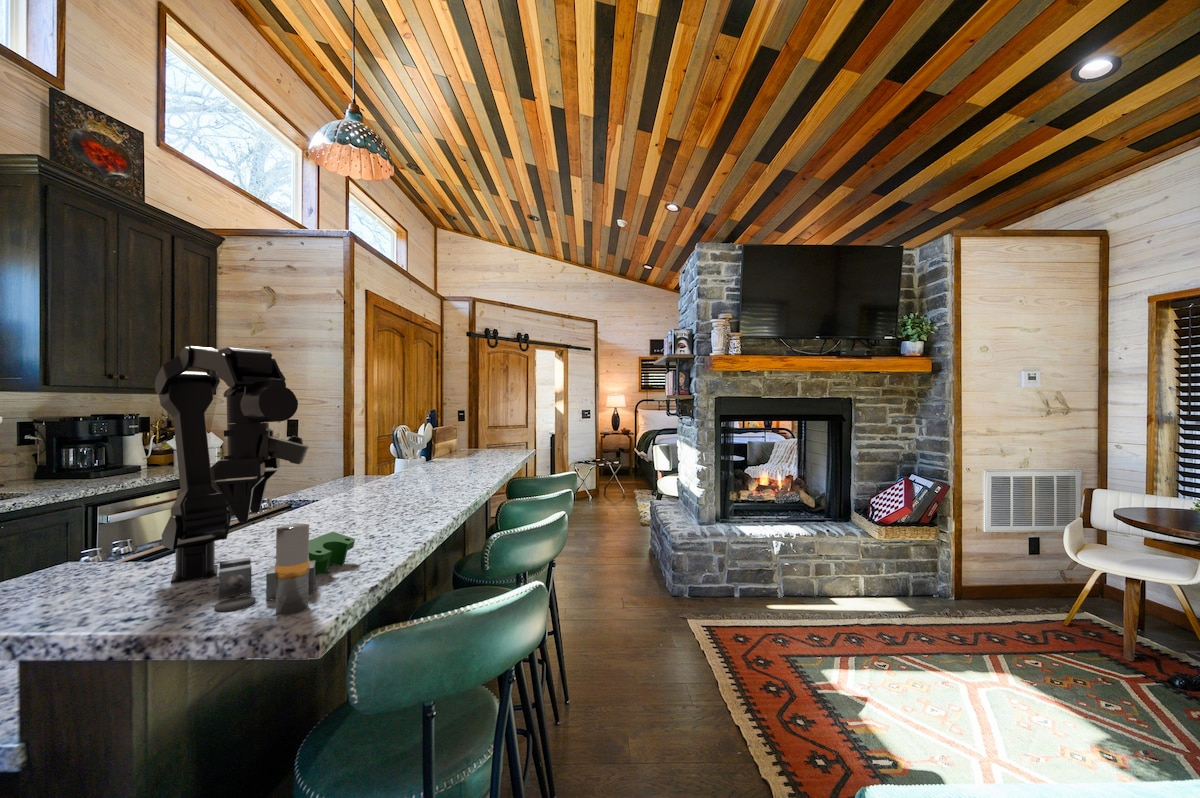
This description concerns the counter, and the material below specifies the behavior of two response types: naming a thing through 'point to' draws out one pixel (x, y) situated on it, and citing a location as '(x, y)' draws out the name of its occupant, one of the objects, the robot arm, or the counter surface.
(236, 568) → the grey metal block
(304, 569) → the sleeve
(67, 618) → the counter surface
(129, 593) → the counter surface
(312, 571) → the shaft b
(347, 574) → the counter surface
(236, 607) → the pad
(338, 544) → the clamp
